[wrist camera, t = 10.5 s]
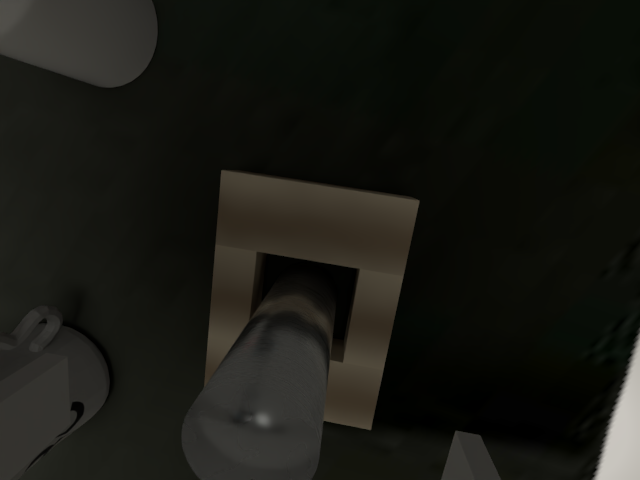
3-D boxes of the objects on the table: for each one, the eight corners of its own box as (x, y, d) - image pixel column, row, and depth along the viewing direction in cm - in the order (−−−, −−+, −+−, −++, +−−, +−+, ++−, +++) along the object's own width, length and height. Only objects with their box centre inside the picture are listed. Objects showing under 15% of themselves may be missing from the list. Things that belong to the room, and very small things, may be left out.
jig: (237, 170, 23) (221, 170, 20) (410, 196, 22) (419, 200, 19) (219, 371, 26) (203, 396, 24) (368, 400, 26) (370, 429, 23)
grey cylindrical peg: (279, 256, 24) (185, 371, 10) (341, 267, 24) (329, 399, 10) (272, 314, 25) (178, 488, 11) (332, 325, 25) (309, 516, 11)
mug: (102, 431, 29) (-25, 563, 19) (6, 391, 29) (-168, 503, 19) (136, 310, 26) (8, 394, 16) (31, 266, 26) (-159, 324, 16)
